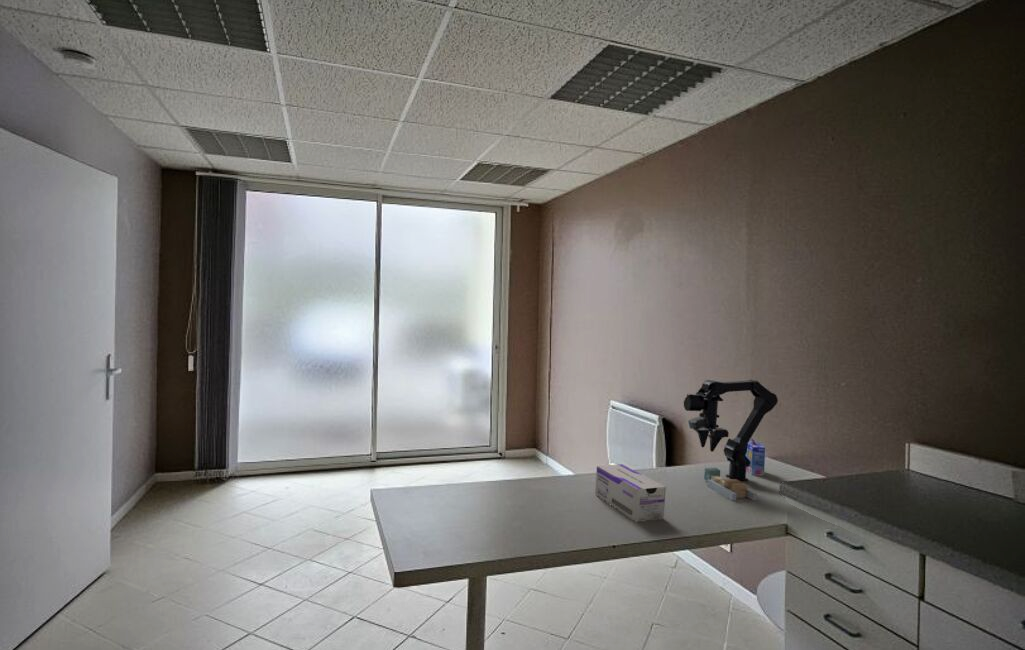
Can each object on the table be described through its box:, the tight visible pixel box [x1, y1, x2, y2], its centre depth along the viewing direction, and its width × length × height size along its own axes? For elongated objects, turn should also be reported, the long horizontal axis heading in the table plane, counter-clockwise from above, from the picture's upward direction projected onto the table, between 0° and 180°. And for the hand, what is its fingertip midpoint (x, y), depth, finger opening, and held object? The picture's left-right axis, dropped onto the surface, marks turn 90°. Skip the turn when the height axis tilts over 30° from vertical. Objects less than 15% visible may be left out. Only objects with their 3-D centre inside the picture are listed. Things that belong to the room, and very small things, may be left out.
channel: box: [706, 480, 758, 502], centre depth 202 cm, size 16×10×2 cm, turn 13°
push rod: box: [703, 467, 725, 487], centre depth 209 cm, size 12×5×4 cm, turn 13°
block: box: [724, 478, 747, 499], centre depth 200 cm, size 6×5×5 cm
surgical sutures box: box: [594, 463, 667, 523], centre depth 181 cm, size 25×11×11 cm, turn 22°
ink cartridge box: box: [746, 437, 766, 477], centre depth 231 cm, size 10×6×14 cm, turn 174°
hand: (707, 449), depth 218 cm, fingers open, 6 cm apart
